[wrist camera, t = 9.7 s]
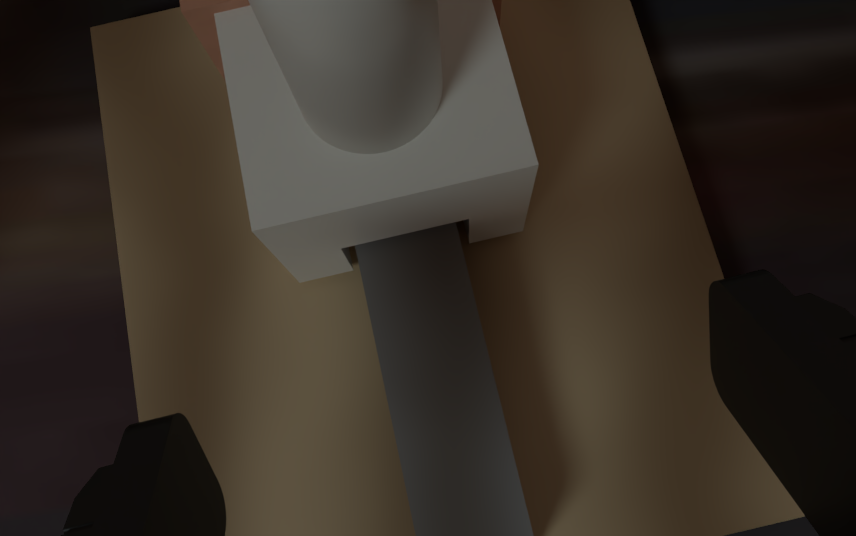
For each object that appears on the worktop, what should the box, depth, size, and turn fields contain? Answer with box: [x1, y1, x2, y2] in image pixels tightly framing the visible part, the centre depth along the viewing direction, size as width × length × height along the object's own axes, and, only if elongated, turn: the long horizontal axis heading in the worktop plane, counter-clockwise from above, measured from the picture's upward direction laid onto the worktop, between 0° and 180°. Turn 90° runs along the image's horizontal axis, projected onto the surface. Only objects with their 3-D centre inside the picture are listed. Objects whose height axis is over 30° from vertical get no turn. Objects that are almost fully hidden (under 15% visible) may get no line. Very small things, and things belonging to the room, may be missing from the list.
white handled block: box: [214, 0, 539, 283], centre depth 13 cm, size 6×5×13 cm
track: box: [90, 0, 805, 536], centre depth 18 cm, size 15×17×6 cm
